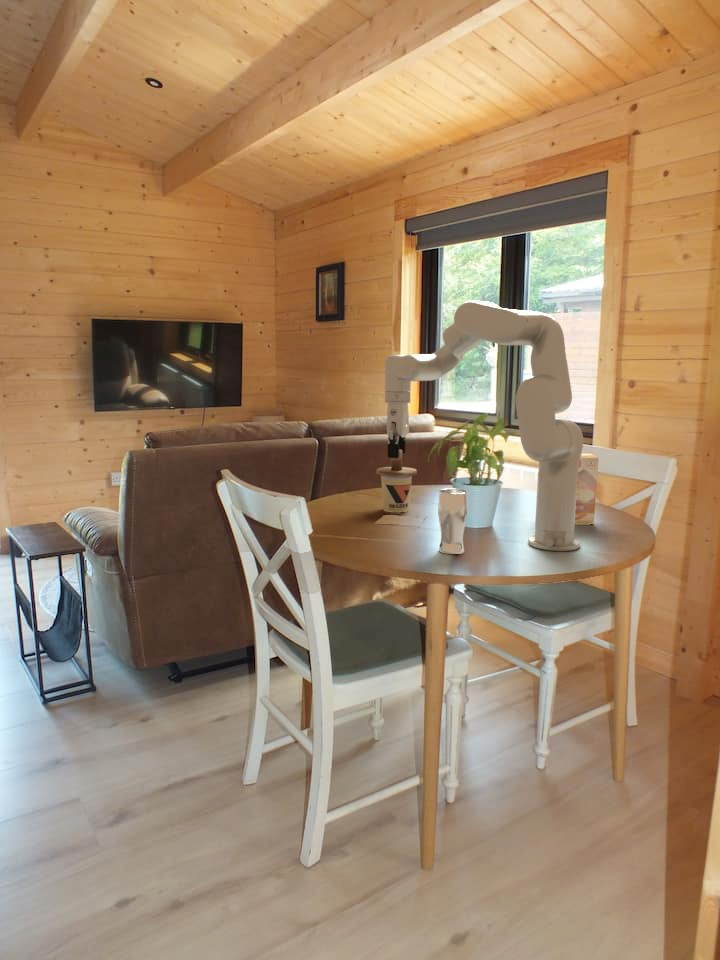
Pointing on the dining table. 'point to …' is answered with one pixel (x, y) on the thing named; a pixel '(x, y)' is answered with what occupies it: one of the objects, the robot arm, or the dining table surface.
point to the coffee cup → (396, 493)
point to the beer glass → (452, 519)
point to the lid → (396, 468)
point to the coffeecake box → (586, 489)
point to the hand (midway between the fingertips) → (396, 455)
